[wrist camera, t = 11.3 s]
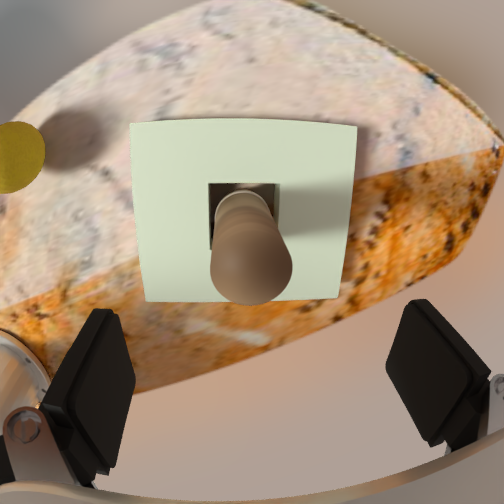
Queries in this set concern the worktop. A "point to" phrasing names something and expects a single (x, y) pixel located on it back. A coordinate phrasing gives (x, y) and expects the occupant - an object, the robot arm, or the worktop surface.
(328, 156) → the board
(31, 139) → the lemon
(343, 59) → the worktop surface
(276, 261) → the peg
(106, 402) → the robot arm
